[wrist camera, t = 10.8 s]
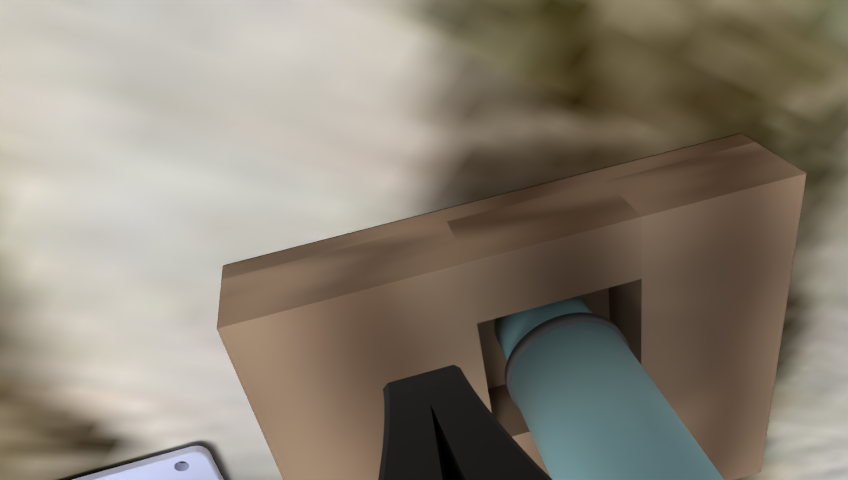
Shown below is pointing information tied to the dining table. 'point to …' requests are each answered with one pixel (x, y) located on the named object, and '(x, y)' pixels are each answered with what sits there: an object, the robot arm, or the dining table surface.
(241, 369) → the board
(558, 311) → the peg
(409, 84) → the dining table surface
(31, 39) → the dining table surface
